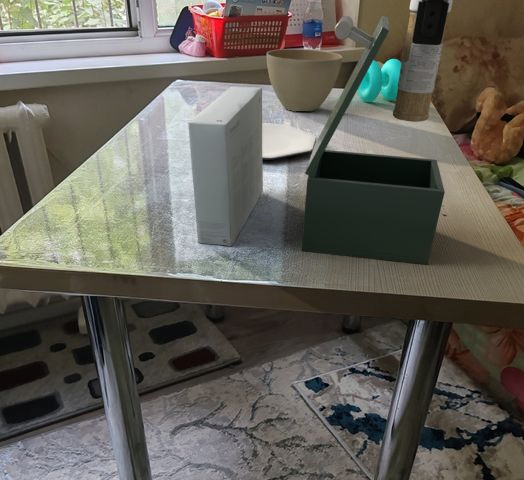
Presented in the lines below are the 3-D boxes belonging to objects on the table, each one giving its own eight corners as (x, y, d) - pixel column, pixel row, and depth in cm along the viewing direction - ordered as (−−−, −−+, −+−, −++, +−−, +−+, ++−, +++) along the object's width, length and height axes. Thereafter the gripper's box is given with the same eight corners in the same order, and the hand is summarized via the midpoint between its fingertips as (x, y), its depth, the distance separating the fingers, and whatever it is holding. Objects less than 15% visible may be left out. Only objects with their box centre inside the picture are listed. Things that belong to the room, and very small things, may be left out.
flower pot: (349, 114, 134) (356, 59, 126) (282, 119, 128) (285, 61, 121) (316, 98, 147) (320, 47, 140) (254, 102, 141) (255, 49, 134)
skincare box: (231, 189, 91) (231, 84, 81) (263, 192, 90) (266, 87, 80) (192, 243, 74) (186, 119, 65) (231, 247, 73) (231, 123, 64)
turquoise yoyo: (352, 97, 149) (357, 56, 143) (383, 96, 152) (389, 55, 146) (370, 106, 142) (376, 63, 136) (403, 104, 145) (410, 62, 139)
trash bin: (422, 226, 81) (436, 159, 75) (427, 264, 71) (444, 191, 65) (311, 214, 83) (317, 149, 77) (301, 251, 73) (307, 178, 67)
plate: (268, 124, 124) (268, 117, 123) (338, 152, 109) (339, 144, 108) (176, 138, 113) (176, 131, 112) (240, 172, 98) (240, 163, 97)
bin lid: (388, 18, 67) (351, -4, 66) (389, 30, 57) (345, 4, 56) (319, 147, 77) (287, 129, 77) (310, 176, 67) (272, 156, 67)
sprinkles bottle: (395, 112, 71) (415, -12, 63) (431, 116, 70) (456, -9, 62) (388, 120, 68) (409, -10, 60) (425, 125, 66) (452, -7, 58)
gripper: (521, -192, 46) (466, 54, 56) (491, -160, 59) (451, 34, 70) (430, -193, 47) (392, 49, 57) (420, -161, 60) (391, 30, 71)
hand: (425, 39), depth 64 cm, fingers closed on sprinkles bottle, 4 cm apart
